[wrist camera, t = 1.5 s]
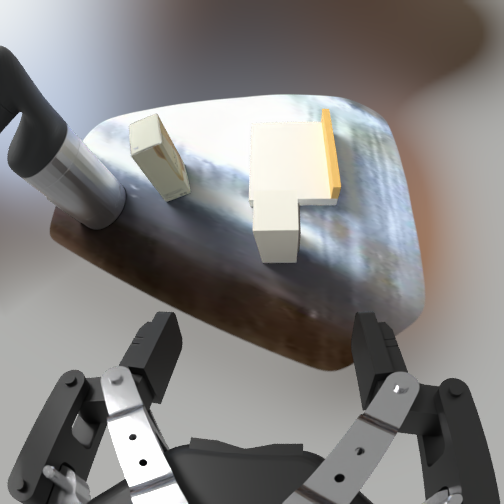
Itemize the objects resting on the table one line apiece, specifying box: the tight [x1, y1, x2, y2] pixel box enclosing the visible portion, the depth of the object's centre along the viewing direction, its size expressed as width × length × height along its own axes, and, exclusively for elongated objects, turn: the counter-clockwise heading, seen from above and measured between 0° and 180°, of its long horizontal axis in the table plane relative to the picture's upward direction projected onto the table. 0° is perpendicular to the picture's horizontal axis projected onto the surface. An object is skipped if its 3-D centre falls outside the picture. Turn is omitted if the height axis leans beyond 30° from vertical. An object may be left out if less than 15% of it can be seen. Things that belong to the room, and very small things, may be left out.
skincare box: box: [129, 113, 191, 202], centre depth 40 cm, size 6×4×12 cm
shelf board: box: [249, 109, 341, 207], centre depth 41 cm, size 12×14×5 cm
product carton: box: [253, 190, 301, 263], centre depth 35 cm, size 5×4×11 cm
